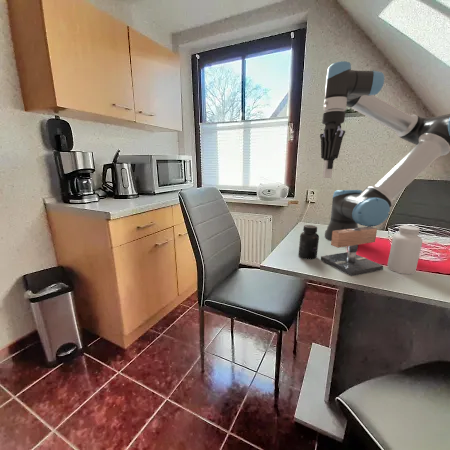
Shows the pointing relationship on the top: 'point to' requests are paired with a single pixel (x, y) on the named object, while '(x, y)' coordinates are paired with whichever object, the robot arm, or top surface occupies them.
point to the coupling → (353, 237)
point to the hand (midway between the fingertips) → (327, 177)
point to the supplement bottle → (308, 242)
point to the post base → (351, 263)
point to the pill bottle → (405, 250)
